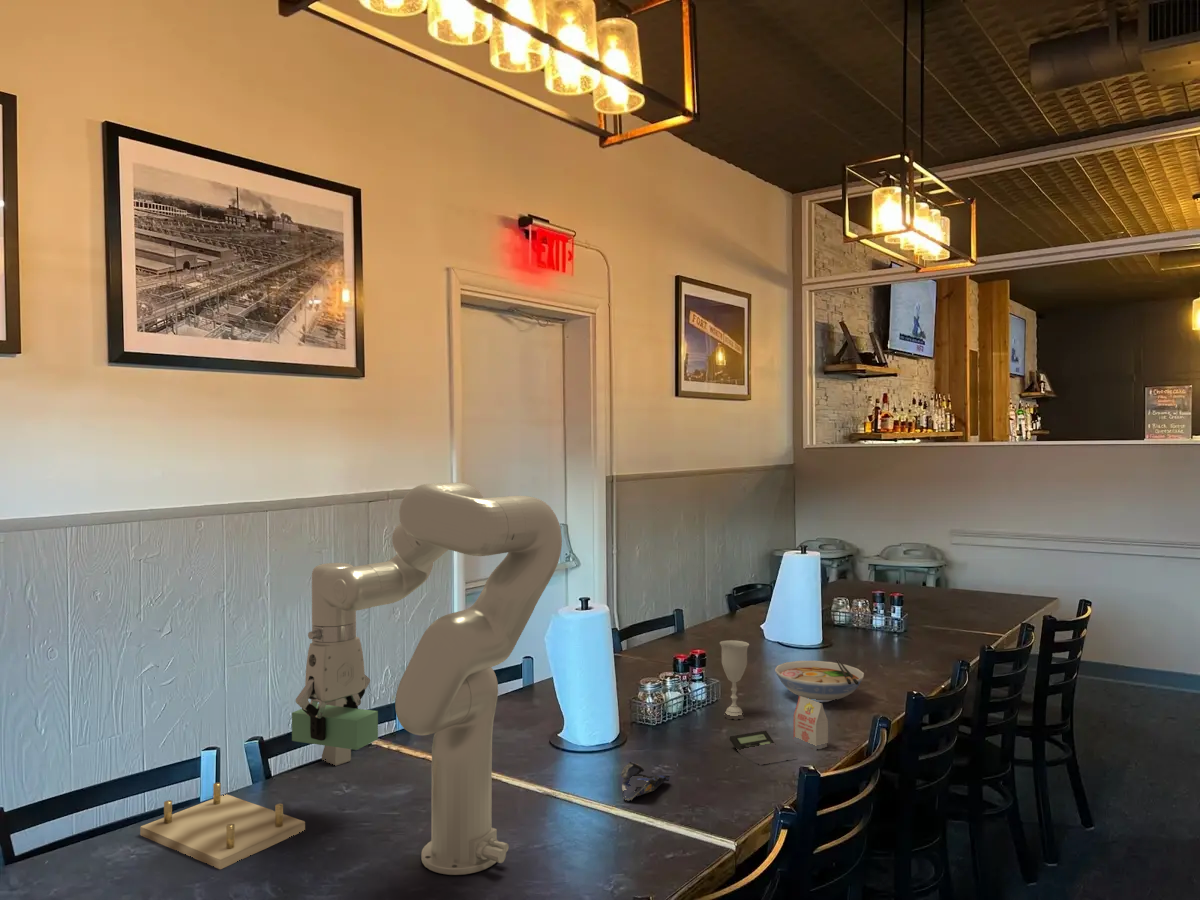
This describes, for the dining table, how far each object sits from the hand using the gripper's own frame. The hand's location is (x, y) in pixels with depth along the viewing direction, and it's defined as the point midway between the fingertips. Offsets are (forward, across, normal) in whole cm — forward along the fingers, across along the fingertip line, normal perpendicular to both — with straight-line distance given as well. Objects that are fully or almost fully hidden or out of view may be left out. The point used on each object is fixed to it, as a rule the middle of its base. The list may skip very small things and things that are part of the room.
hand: (334, 732), depth 152 cm
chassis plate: (+15, -15, +10) cm, 23 cm away
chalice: (+15, +90, -39) cm, 99 cm away
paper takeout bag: (+16, +81, -61) cm, 102 cm away
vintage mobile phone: (+15, +18, +20) cm, 31 cm away
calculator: (+16, +70, -54) cm, 90 cm away
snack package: (+16, +39, -41) cm, 59 cm away
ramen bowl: (+15, +116, -52) cm, 128 cm away
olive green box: (+1, 0, 0) cm, 1 cm away
